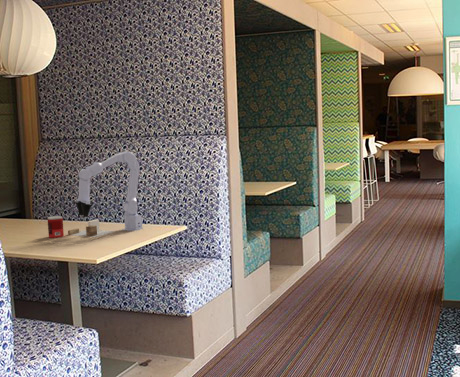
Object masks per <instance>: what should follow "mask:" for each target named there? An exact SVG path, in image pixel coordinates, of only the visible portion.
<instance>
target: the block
mask: <svg viewBox="0 0 460 377" xmlns="http://www.w3.org/2000/svg"><path fill="white" fill-rule="evenodd" d="M85 230H86V236H85V237H88V236H95V235H97V226H88V225H86V226H85Z"/></svg>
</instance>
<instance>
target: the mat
mask: <svg viewBox="0 0 460 377" xmlns="http://www.w3.org/2000/svg"><path fill="white" fill-rule="evenodd" d="M115 232H116V231H115V230H101V229H100V232H98V233H97V235H95V236H86V229H84V230H81V231H80V230H79V233H77V234H73V235H72V236H77V237H87V238H88V237H89V238H90V237H91V238H97V237H101V236H105V235H108V234H112V233H115Z"/></svg>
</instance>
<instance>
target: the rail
mask: <svg viewBox="0 0 460 377" xmlns="http://www.w3.org/2000/svg"><path fill="white" fill-rule="evenodd" d="M79 232H80V228H72V229H68V230H67V236H74V235H73V234H77V233H79Z"/></svg>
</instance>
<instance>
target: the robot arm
mask: <svg viewBox="0 0 460 377" xmlns="http://www.w3.org/2000/svg"><path fill="white" fill-rule="evenodd" d="M115 163H124V164H125V165H127V167H128V168H129V177H128V185H127V193H126V198H125V201H124V203H123V205H122V209H123V211H124V213H123V214H124V217H123V218H124V228H122V229H121V231H130V232H132V231H133V232H135V231H139V230H144V227H143V217H142V215H141V214H138V207H139V206H138V204H137V203H138V202H137V201H138V200H137V191H138V184H139V183H138V182H139V175H140V169H141V168H140V167H141V166H140V164H139V162H138V159H137V156H136V155H135V154H134V153H133V152H132V151H126V150H125V151H122V152H118V153H117V154H114V155H113V156H111V157H109V158H108V159H105V160H103V161H102V162H99V161H98V162H97V161H95V162H93V163H92V164H91V165H89V166H86V167H85V168H81V170H79V172H78V178H79V181H78V182H79V183H78V198H76V199H75V200H76V202H75V205H76V207H77V211H78V215H79V216H83V218H87V217H89V214H90V210H91V208H92V205H93V204H91V201H90V188H91V184H90V181H91V180H90V179H91V178H92V177H94V176H96V175H98V174H100V173H103V170H104V169H105V168H107V167H109V166H111V165H113V164H115Z"/></svg>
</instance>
